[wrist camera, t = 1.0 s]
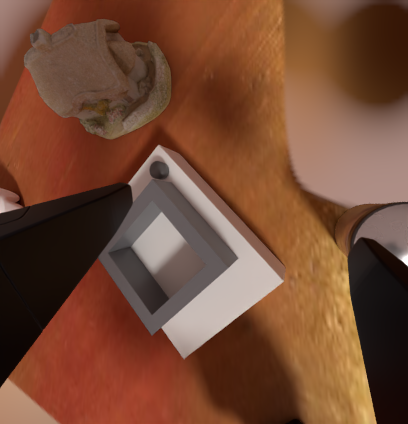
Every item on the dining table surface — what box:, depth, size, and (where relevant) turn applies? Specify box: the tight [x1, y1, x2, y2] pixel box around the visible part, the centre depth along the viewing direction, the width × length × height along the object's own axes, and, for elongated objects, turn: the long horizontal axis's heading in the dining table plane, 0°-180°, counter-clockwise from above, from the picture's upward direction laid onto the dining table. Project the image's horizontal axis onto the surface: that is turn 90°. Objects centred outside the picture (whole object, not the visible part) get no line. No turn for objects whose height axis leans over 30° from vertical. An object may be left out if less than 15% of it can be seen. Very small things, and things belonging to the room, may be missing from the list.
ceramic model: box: [24, 19, 171, 139], centre depth 23 cm, size 14×11×10 cm
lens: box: [335, 202, 408, 265], centre depth 15 cm, size 5×5×7 cm
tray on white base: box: [98, 145, 286, 359], centre depth 21 cm, size 16×12×7 cm
